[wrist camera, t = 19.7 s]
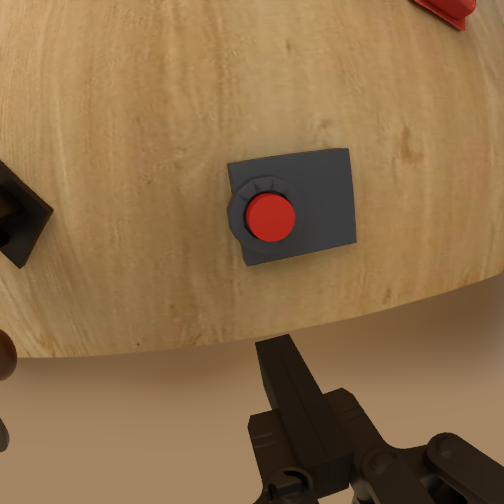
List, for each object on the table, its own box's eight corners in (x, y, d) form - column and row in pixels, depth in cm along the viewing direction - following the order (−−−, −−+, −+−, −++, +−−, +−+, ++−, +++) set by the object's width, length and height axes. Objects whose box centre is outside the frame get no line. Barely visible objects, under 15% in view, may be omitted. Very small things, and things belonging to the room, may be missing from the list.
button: (249, 240, 28) (253, 246, 26) (242, 197, 27) (245, 200, 25) (291, 232, 29) (297, 237, 27) (286, 189, 27) (292, 192, 26)
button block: (234, 261, 32) (240, 275, 29) (217, 165, 29) (220, 166, 25) (347, 237, 34) (364, 247, 30) (339, 148, 31) (357, 148, 27)
